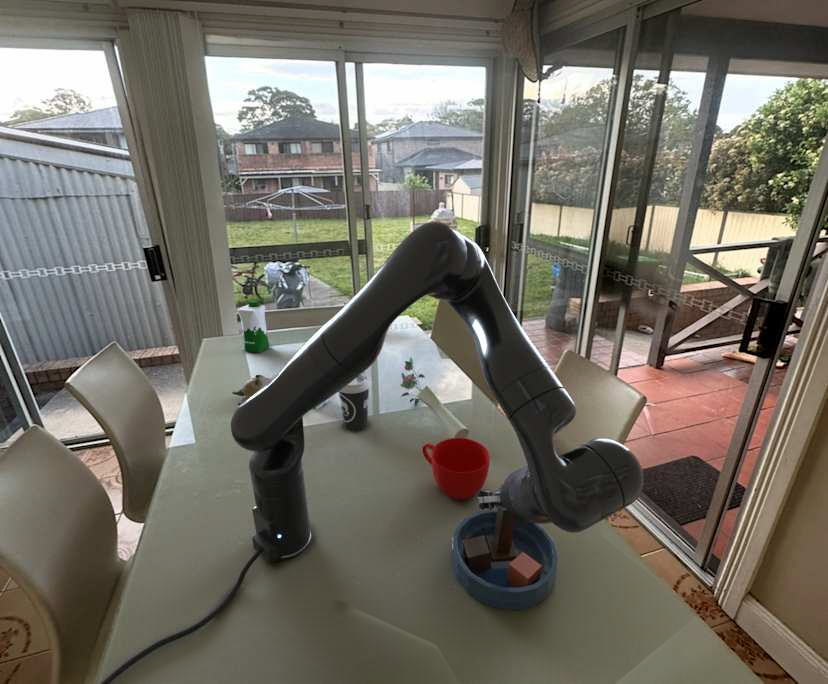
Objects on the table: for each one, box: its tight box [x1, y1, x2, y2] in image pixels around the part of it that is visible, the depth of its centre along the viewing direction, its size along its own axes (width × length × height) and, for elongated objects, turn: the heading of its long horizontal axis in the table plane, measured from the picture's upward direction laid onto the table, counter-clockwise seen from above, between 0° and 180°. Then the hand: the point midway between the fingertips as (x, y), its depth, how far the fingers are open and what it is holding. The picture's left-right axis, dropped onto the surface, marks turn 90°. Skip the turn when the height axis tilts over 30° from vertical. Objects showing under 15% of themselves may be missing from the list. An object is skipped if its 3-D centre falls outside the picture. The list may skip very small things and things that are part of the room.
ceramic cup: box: [422, 437, 491, 501], centre depth 100 cm, size 13×17×10 cm
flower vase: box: [399, 356, 470, 439], centre depth 132 cm, size 12×12×35 cm
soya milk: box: [236, 299, 270, 354], centre depth 179 cm, size 9×9×20 cm
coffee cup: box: [338, 373, 371, 432], centre depth 125 cm, size 10×10×15 cm
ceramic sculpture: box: [231, 373, 280, 406], centre depth 141 cm, size 11×9×15 cm
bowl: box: [451, 508, 559, 611], centre depth 81 cm, size 19×19×5 cm
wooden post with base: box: [486, 484, 517, 562], centre depth 76 cm, size 4×4×16 cm
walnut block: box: [463, 536, 491, 573], centre depth 81 cm, size 4×4×4 cm
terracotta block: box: [507, 552, 542, 588], centre depth 77 cm, size 4×4×4 cm
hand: (505, 500), depth 76 cm, fingers closed on wooden post with base, 2 cm apart
